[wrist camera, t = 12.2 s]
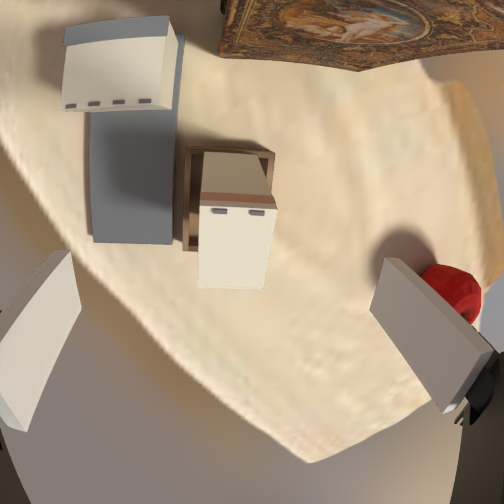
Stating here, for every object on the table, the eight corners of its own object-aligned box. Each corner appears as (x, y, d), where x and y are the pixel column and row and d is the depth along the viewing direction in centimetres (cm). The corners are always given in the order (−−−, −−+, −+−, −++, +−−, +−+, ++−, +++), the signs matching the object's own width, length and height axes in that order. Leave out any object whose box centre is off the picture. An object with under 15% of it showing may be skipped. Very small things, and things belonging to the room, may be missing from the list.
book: (367, 31, 26) (552, -21, 4) (368, 74, 28) (571, 59, 6) (219, 12, 24) (252, -169, 1) (217, 58, 26) (248, -101, 4)
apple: (416, 246, 38) (466, 283, 28) (457, 256, 40) (503, 290, 30) (390, 307, 42) (429, 353, 32) (432, 310, 44) (470, 350, 34)
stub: (204, 151, 28) (199, 206, 19) (257, 154, 29) (278, 210, 20) (201, 215, 32) (197, 289, 23) (248, 217, 33) (263, 290, 24)
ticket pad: (100, 47, 23) (66, 26, 15) (179, 43, 24) (168, 15, 16) (93, 112, 25) (55, 111, 18) (172, 109, 27) (158, 104, 19)
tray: (187, 146, 30) (185, 147, 28) (271, 151, 31) (275, 153, 29) (183, 243, 34) (182, 251, 32) (261, 246, 35) (264, 253, 33)
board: (101, 41, 23) (98, 39, 22) (185, 37, 25) (184, 34, 24) (96, 238, 32) (93, 242, 31) (173, 240, 33) (172, 244, 32)
